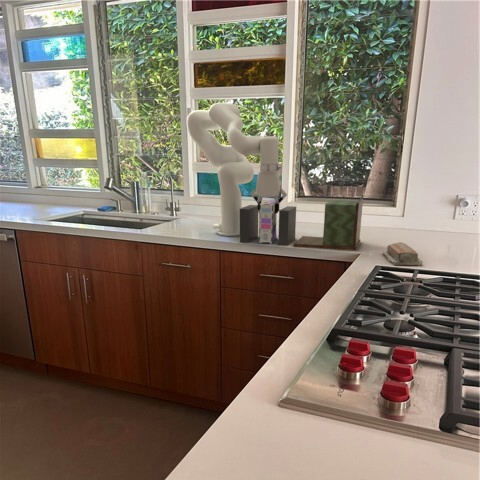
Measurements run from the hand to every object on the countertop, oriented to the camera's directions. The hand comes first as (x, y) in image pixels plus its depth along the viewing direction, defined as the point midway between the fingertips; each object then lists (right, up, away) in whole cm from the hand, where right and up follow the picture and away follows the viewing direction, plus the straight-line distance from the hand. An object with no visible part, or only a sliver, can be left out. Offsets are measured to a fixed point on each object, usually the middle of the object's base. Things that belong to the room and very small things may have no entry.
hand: (268, 212), depth 197 cm
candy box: (0, -11, +4) cm, 12 cm away
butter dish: (+46, -24, -29) cm, 60 cm away
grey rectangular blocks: (0, -11, +4) cm, 12 cm away
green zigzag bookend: (+25, -14, -4) cm, 29 cm away
